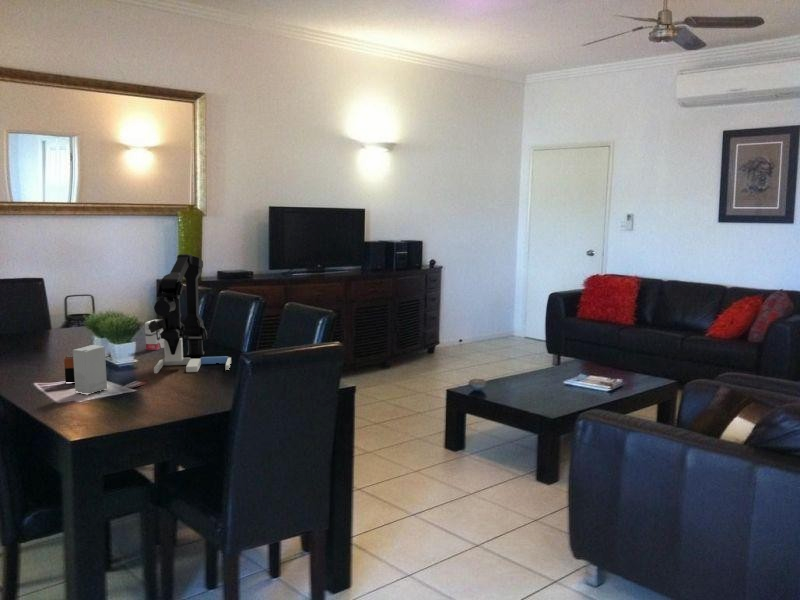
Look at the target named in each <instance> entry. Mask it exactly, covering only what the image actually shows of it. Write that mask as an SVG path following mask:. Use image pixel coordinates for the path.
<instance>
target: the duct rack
mask: <svg viewBox="0 0 800 600" xmlns="http://www.w3.org/2000/svg"><path fill="white" fill-rule="evenodd" d="M216 363H219V364H225V371H226V370H229V371H230V369H229V368H231V365H230V364H232V356H231V357H230V356H228V355H227V356H226V355H225V356H222V355H221V356H201V357H200V358H191V357H183V360H182V361H170V362H165V357H164V358H162V359H159V361H158V362H157V363H156V365H155V366H154V367H153V373H154V374H158V373H159V372H160V370H161V369H162V368H163V366H185V365H186V366H185V372H186V373H197V372H198V371H199V369H200V367H201V365H215V364H216ZM216 365H217V364H216Z"/></svg>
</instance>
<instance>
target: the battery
mask: <svg viewBox="0 0 800 600" xmlns="http://www.w3.org/2000/svg"><path fill="white" fill-rule="evenodd" d="M63 360H64V361H63V363H64V377H65V383H66V382H75V377H74V361H73V353H72V354H70V353H69V354H66V356H65V357H64V359H63Z"/></svg>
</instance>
